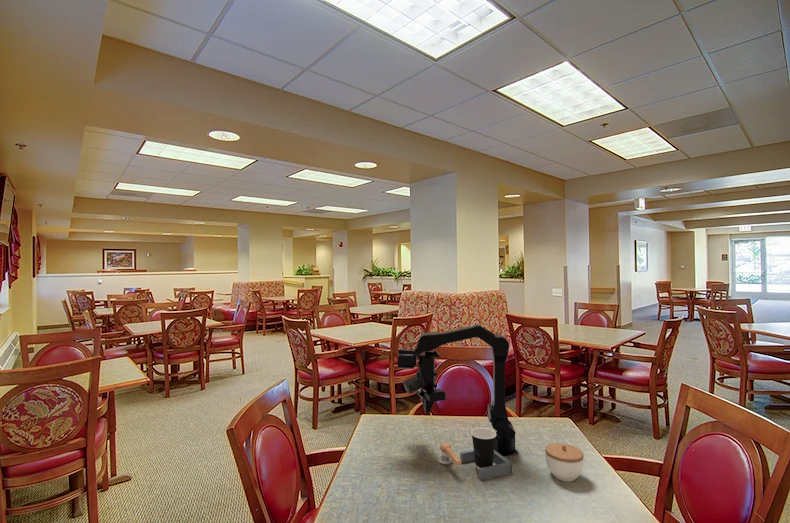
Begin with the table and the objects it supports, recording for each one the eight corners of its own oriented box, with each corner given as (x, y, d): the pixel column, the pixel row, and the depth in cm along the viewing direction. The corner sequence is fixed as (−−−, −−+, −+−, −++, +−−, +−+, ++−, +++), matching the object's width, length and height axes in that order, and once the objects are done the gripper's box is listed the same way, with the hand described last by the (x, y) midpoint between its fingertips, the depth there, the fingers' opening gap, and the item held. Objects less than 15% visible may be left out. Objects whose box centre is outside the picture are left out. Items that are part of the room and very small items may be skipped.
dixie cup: (467, 469, 123) (467, 434, 123) (476, 459, 130) (475, 425, 130) (492, 476, 119) (492, 440, 119) (499, 465, 126) (499, 430, 126)
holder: (489, 455, 132) (489, 446, 132) (512, 473, 121) (512, 463, 121) (460, 461, 129) (460, 451, 129) (481, 480, 117) (481, 470, 117)
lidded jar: (581, 470, 122) (581, 440, 123) (586, 488, 112) (585, 455, 112) (544, 464, 126) (544, 435, 126) (546, 482, 116) (545, 450, 116)
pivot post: (448, 456, 132) (448, 445, 132) (455, 463, 127) (455, 452, 127) (435, 458, 130) (435, 447, 130) (442, 466, 126) (442, 454, 126)
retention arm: (438, 447, 130) (438, 443, 130) (448, 445, 131) (448, 442, 131) (453, 465, 118) (453, 461, 118) (464, 464, 119) (464, 460, 119)
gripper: (396, 365, 145) (396, 407, 145) (416, 378, 127) (416, 426, 127) (423, 362, 149) (424, 403, 149) (446, 374, 131) (447, 421, 131)
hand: (427, 413), depth 139 cm, fingers closed
